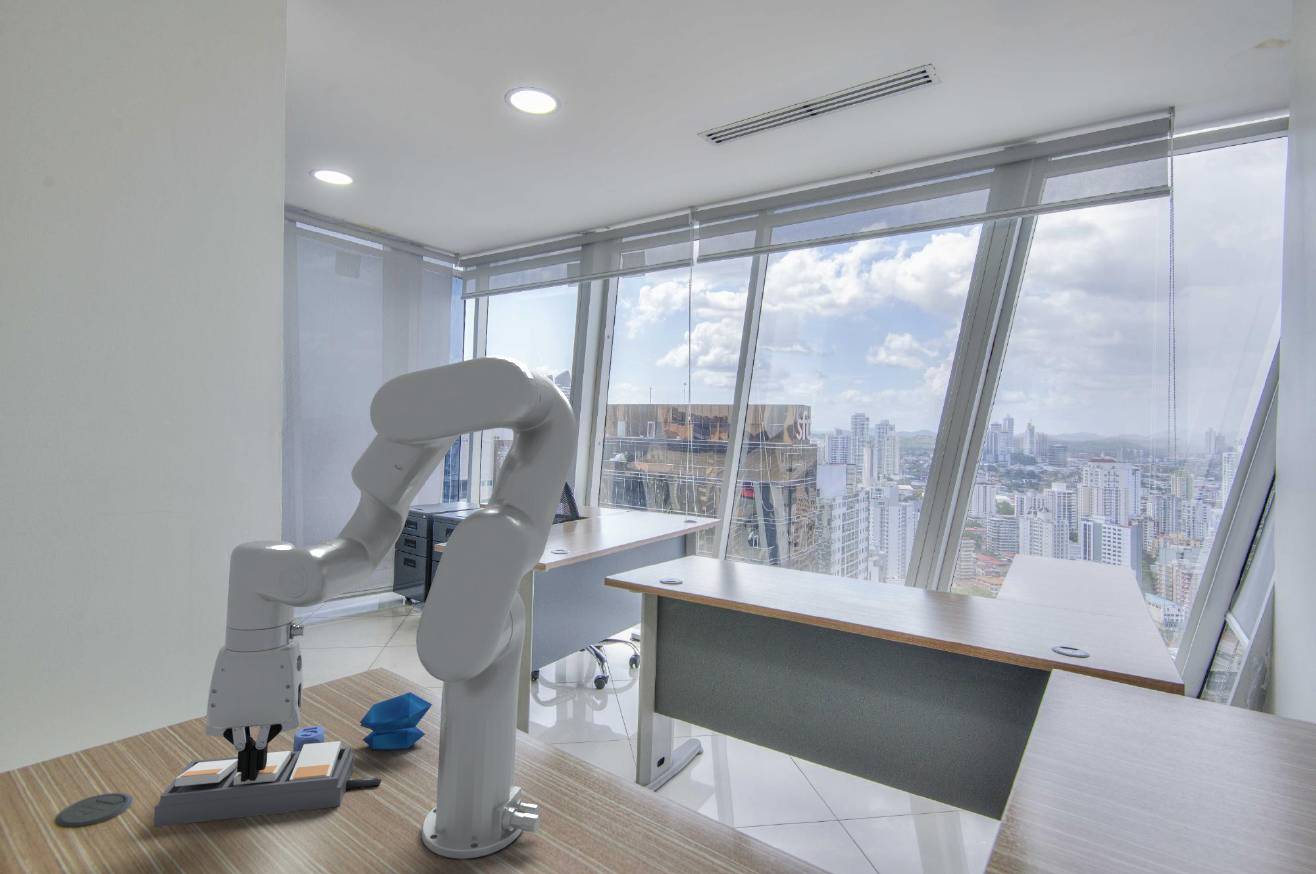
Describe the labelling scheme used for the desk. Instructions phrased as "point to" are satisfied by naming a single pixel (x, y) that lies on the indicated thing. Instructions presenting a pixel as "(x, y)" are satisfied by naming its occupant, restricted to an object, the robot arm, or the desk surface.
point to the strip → (256, 794)
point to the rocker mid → (268, 768)
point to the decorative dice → (308, 737)
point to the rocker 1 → (206, 772)
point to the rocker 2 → (316, 761)
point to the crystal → (395, 722)
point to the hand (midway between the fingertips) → (251, 775)
